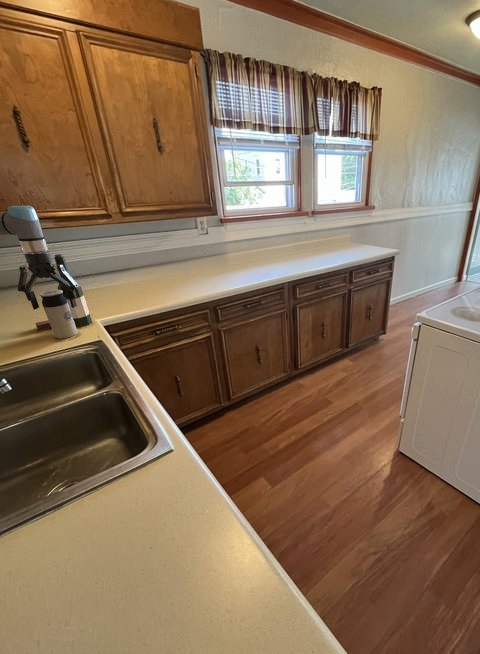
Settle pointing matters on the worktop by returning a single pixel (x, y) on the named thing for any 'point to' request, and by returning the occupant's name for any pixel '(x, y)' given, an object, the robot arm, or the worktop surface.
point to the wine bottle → (81, 310)
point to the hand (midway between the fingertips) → (55, 307)
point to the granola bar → (43, 325)
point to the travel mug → (58, 314)
